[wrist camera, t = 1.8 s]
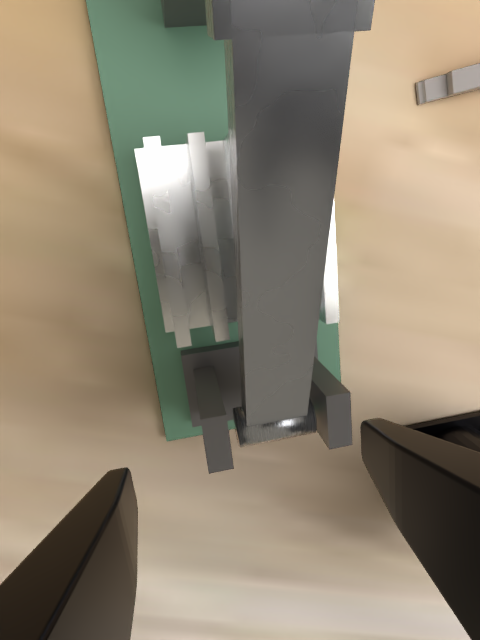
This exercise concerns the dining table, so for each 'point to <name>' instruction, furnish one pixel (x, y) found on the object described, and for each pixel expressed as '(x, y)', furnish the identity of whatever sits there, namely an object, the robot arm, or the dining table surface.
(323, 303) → the heatsink
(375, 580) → the dining table surface
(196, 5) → the post
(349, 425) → the hinge post
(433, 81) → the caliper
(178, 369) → the board
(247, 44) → the strap
